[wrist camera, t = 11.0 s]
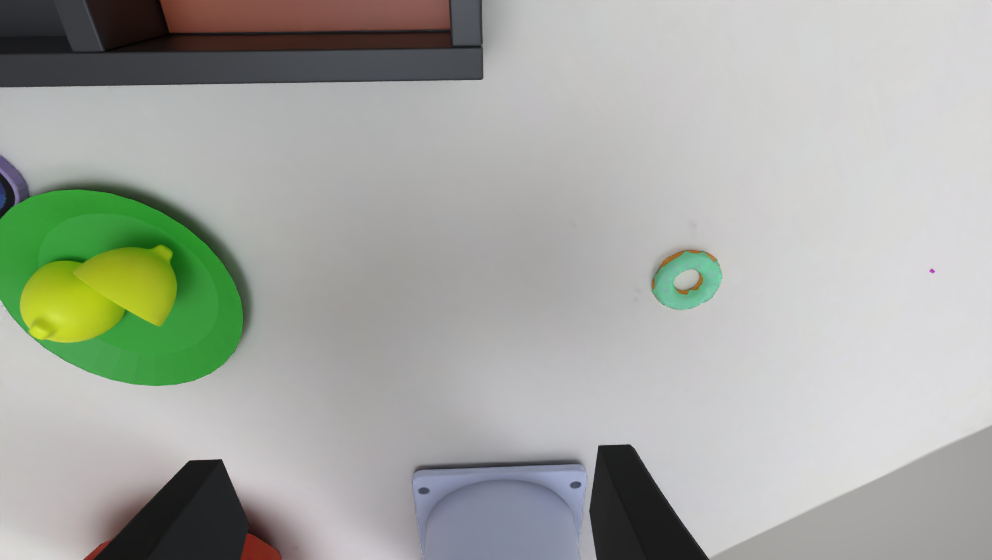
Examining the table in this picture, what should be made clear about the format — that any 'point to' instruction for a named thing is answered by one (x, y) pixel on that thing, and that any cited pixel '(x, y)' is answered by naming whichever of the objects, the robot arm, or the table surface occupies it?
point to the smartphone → (11, 187)
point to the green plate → (117, 288)
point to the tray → (237, 41)
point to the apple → (255, 553)
